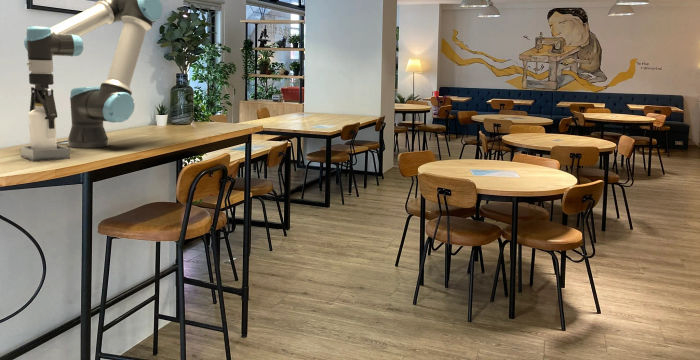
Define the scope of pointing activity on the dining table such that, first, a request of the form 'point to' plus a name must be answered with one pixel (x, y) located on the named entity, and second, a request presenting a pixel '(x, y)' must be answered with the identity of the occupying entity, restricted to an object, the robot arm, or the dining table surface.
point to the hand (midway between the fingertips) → (44, 136)
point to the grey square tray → (45, 153)
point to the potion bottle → (40, 130)
